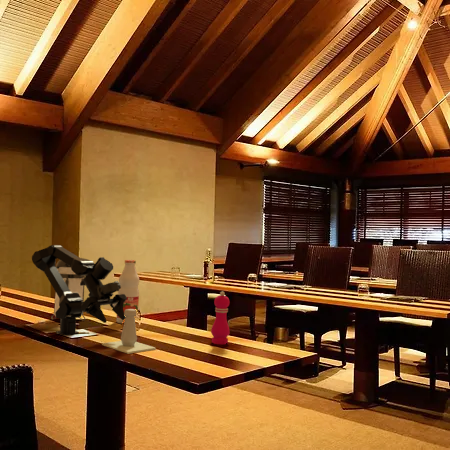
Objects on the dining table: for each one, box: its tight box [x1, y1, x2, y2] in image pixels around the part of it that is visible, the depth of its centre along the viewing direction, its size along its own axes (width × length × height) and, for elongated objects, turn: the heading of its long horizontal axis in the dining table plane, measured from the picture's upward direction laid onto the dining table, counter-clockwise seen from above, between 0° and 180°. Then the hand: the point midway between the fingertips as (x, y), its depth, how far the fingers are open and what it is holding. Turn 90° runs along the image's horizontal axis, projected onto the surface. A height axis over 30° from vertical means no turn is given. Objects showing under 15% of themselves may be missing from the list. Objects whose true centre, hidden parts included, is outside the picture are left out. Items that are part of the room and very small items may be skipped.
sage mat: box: [101, 340, 157, 355], centre depth 194 cm, size 16×12×1 cm
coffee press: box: [50, 259, 86, 322], centre depth 243 cm, size 17×16×30 cm
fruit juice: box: [116, 259, 140, 325], centre depth 243 cm, size 9×9×28 cm
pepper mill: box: [210, 291, 231, 345], centre depth 210 cm, size 7×7×20 cm
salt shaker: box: [120, 309, 138, 347], centre depth 195 cm, size 6×6×13 cm
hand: (114, 320), depth 199 cm, fingers open, 9 cm apart
